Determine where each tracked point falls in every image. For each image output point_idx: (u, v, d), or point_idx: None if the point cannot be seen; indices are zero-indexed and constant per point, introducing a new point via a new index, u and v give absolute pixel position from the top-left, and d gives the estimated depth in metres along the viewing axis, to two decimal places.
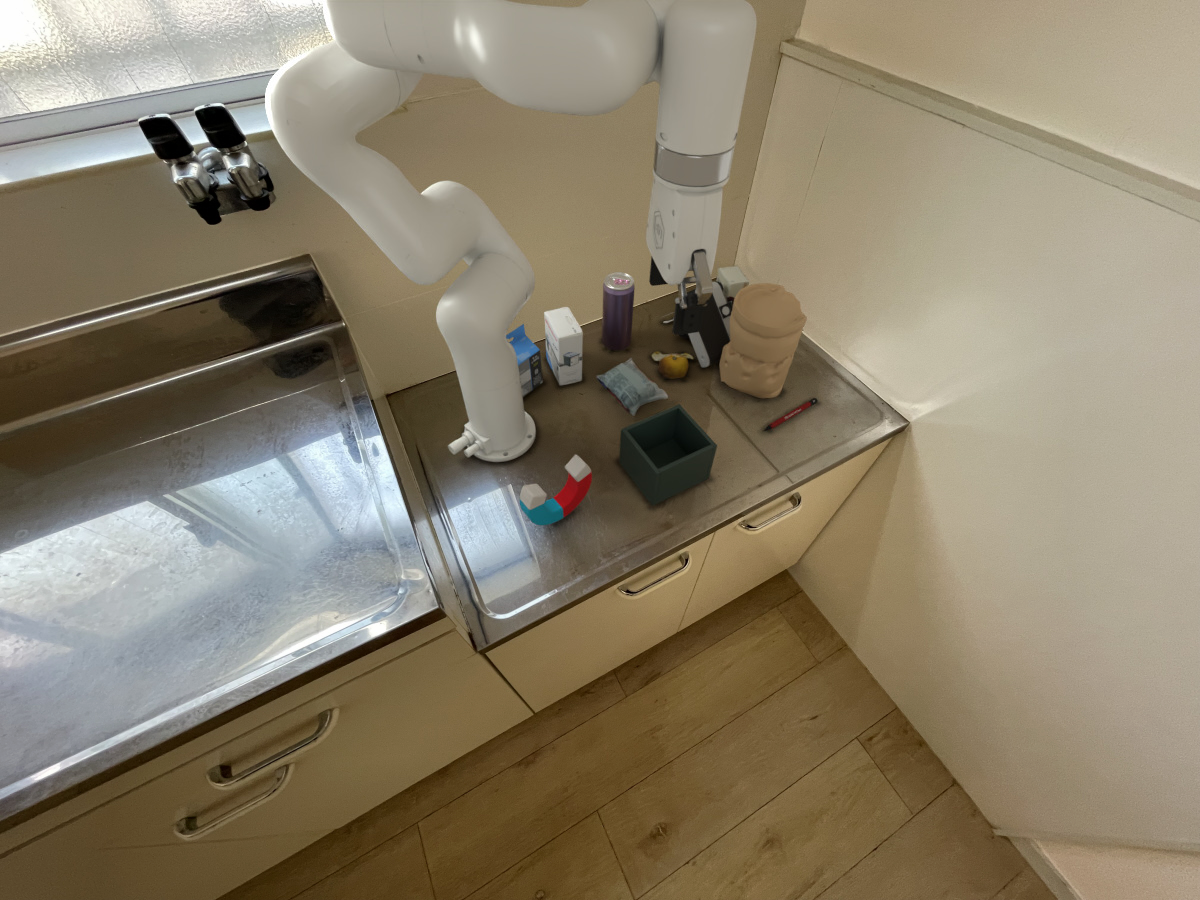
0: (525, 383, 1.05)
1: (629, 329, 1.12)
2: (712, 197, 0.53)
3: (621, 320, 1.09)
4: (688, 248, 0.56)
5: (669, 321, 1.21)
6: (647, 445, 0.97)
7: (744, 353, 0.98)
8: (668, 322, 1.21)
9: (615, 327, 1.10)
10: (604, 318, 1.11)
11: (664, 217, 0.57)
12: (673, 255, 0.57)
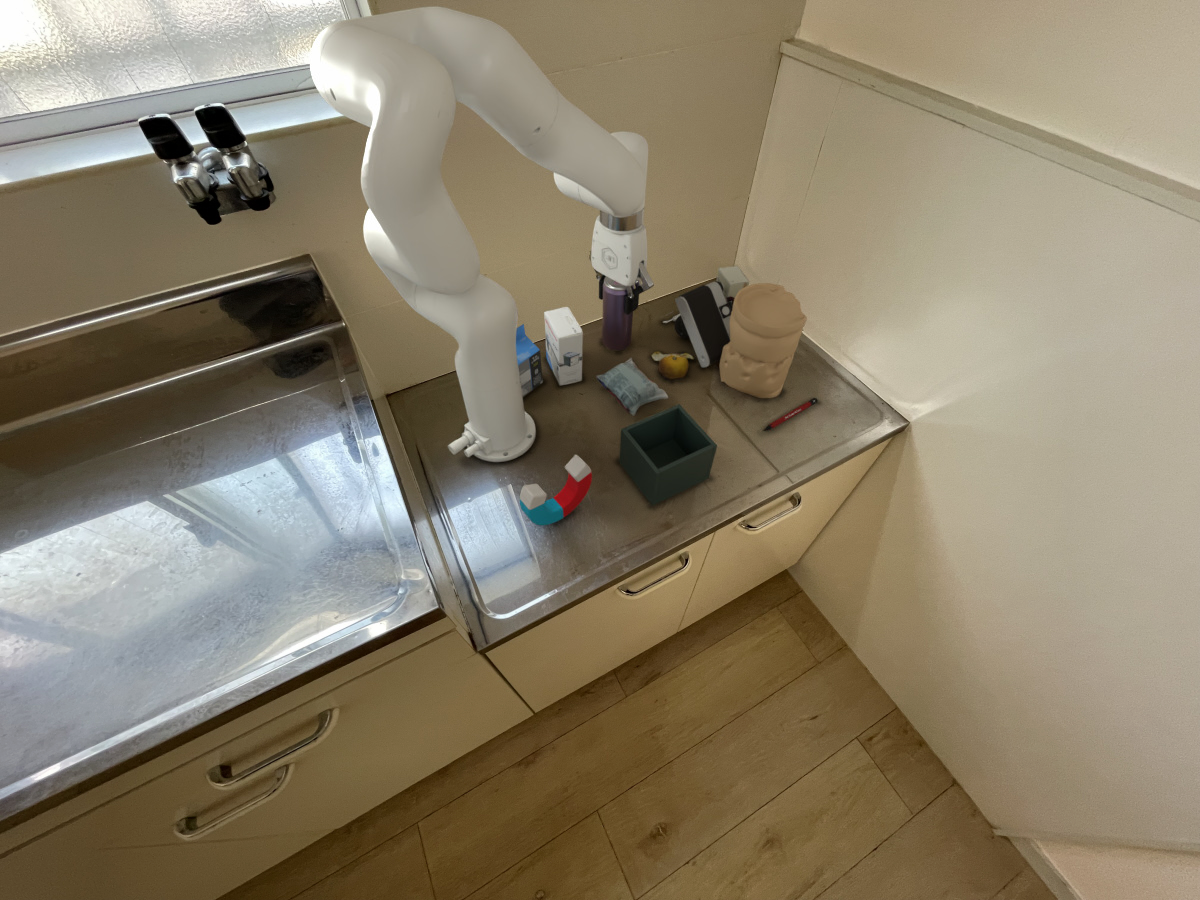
0: (525, 383, 1.05)
1: (629, 329, 1.12)
2: (643, 231, 0.96)
3: (621, 320, 1.09)
4: (637, 262, 0.98)
5: (669, 321, 1.21)
6: (647, 445, 0.97)
7: (744, 353, 0.98)
8: (667, 322, 1.21)
9: (615, 327, 1.10)
10: (604, 318, 1.11)
11: (616, 250, 0.98)
12: (630, 269, 0.98)
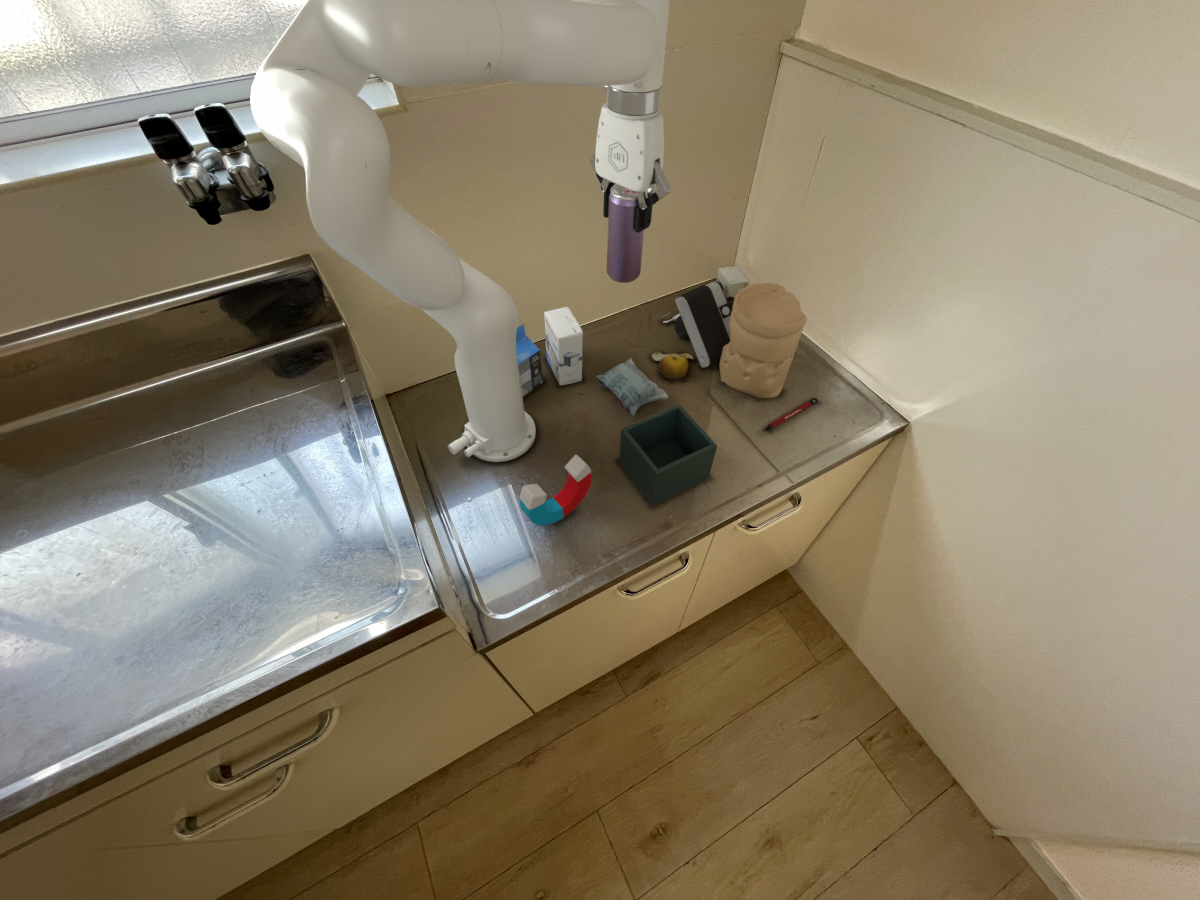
0: (525, 383, 1.05)
1: (638, 254, 0.95)
2: (660, 119, 0.79)
3: (630, 240, 0.92)
4: (652, 159, 0.81)
5: (668, 321, 1.21)
6: (647, 445, 0.97)
7: (744, 353, 0.98)
8: (667, 321, 1.21)
9: (623, 250, 0.93)
10: (610, 240, 0.94)
11: (627, 144, 0.80)
12: (643, 167, 0.81)
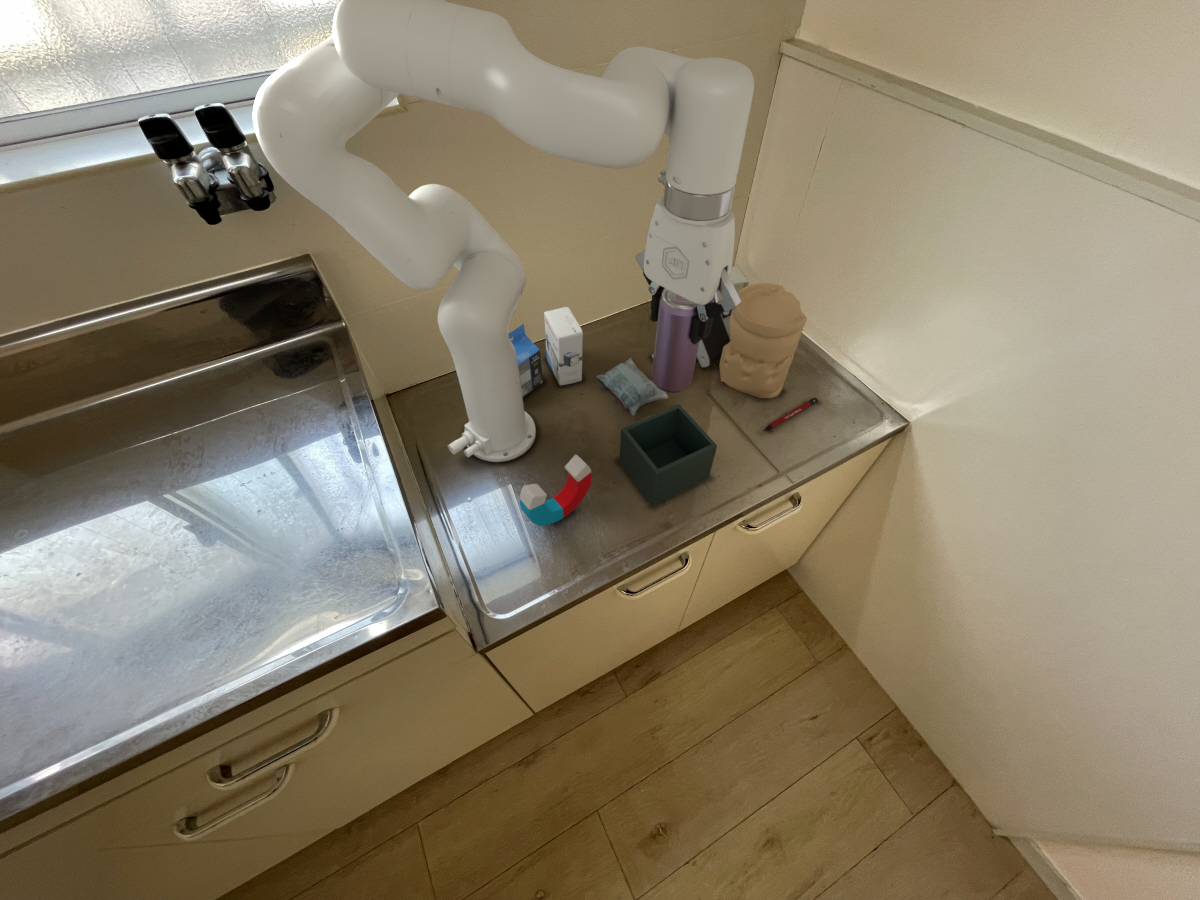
0: (525, 383, 1.05)
1: (692, 363, 0.78)
2: (732, 222, 0.62)
3: (684, 351, 0.75)
4: (719, 269, 0.64)
5: None
6: (647, 445, 0.97)
7: (744, 353, 0.98)
8: None
9: (675, 361, 0.77)
10: (658, 348, 0.77)
11: (688, 250, 0.64)
12: (708, 279, 0.64)
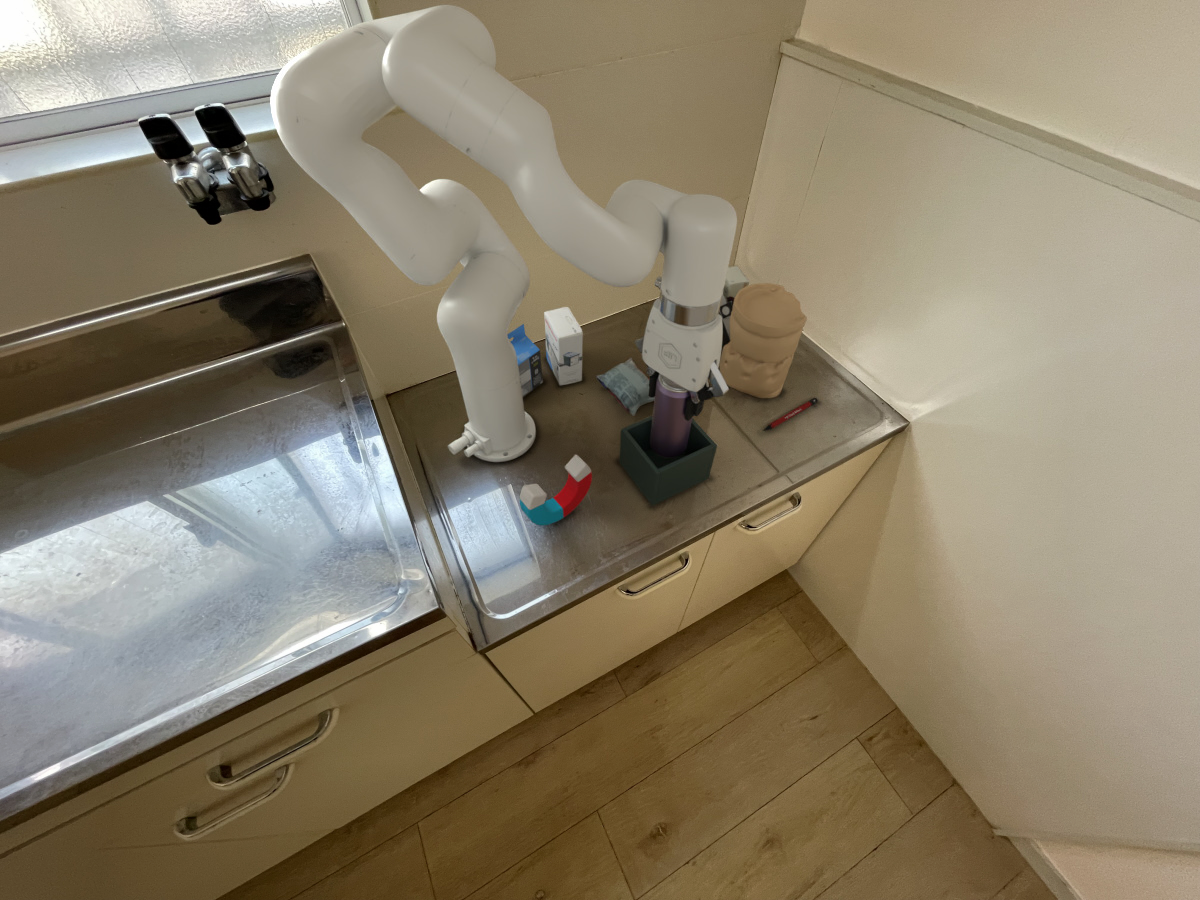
0: (525, 383, 1.05)
1: (687, 433, 0.86)
2: (720, 325, 0.70)
3: (679, 425, 0.83)
4: (709, 364, 0.72)
5: None
6: (647, 445, 0.97)
7: (744, 353, 0.98)
8: None
9: (670, 433, 0.85)
10: (656, 421, 0.85)
11: (681, 348, 0.72)
12: (699, 372, 0.72)
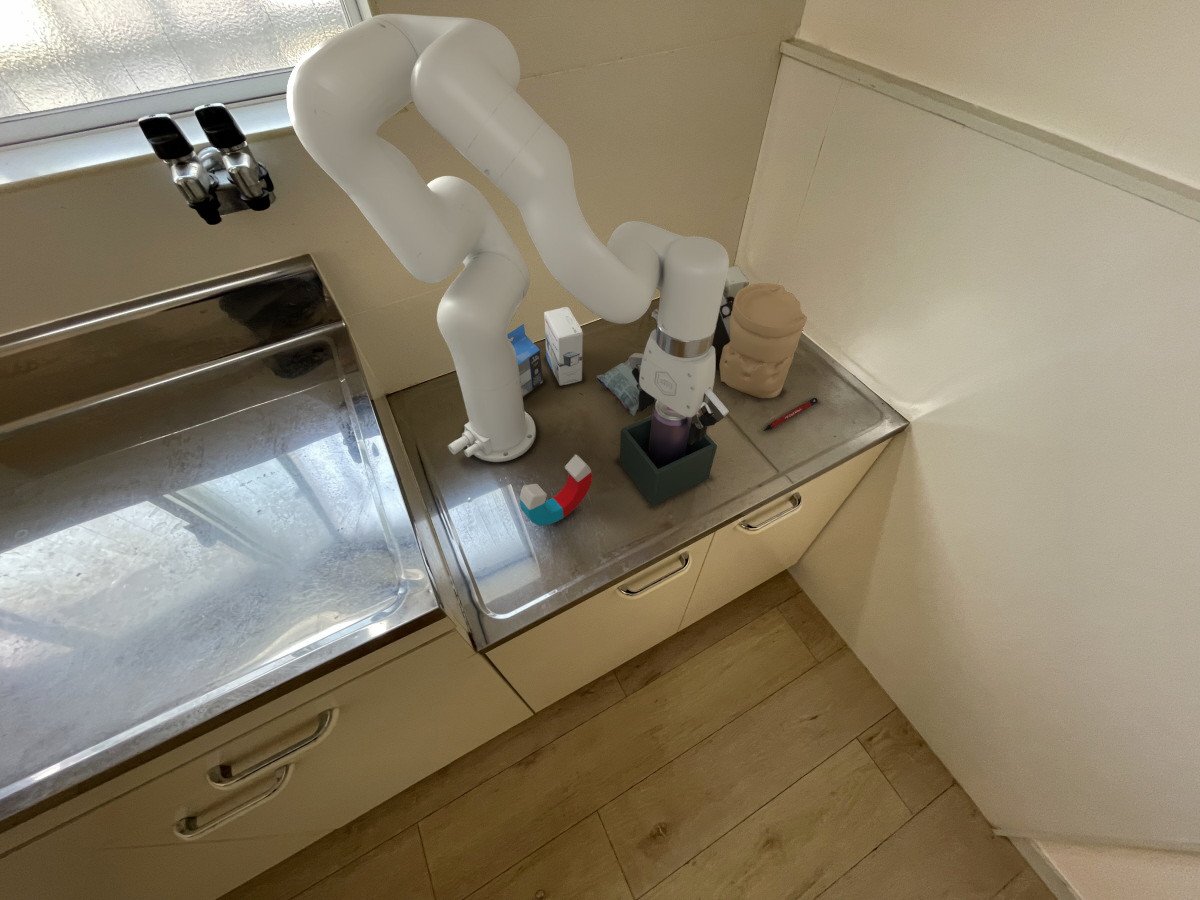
0: (525, 383, 1.05)
1: (682, 457, 0.91)
2: (713, 356, 0.74)
3: (674, 450, 0.88)
4: (702, 392, 0.76)
5: None
6: (647, 445, 0.97)
7: (744, 353, 0.98)
8: None
9: (666, 457, 0.89)
10: (652, 445, 0.89)
11: (676, 377, 0.76)
12: (693, 400, 0.76)
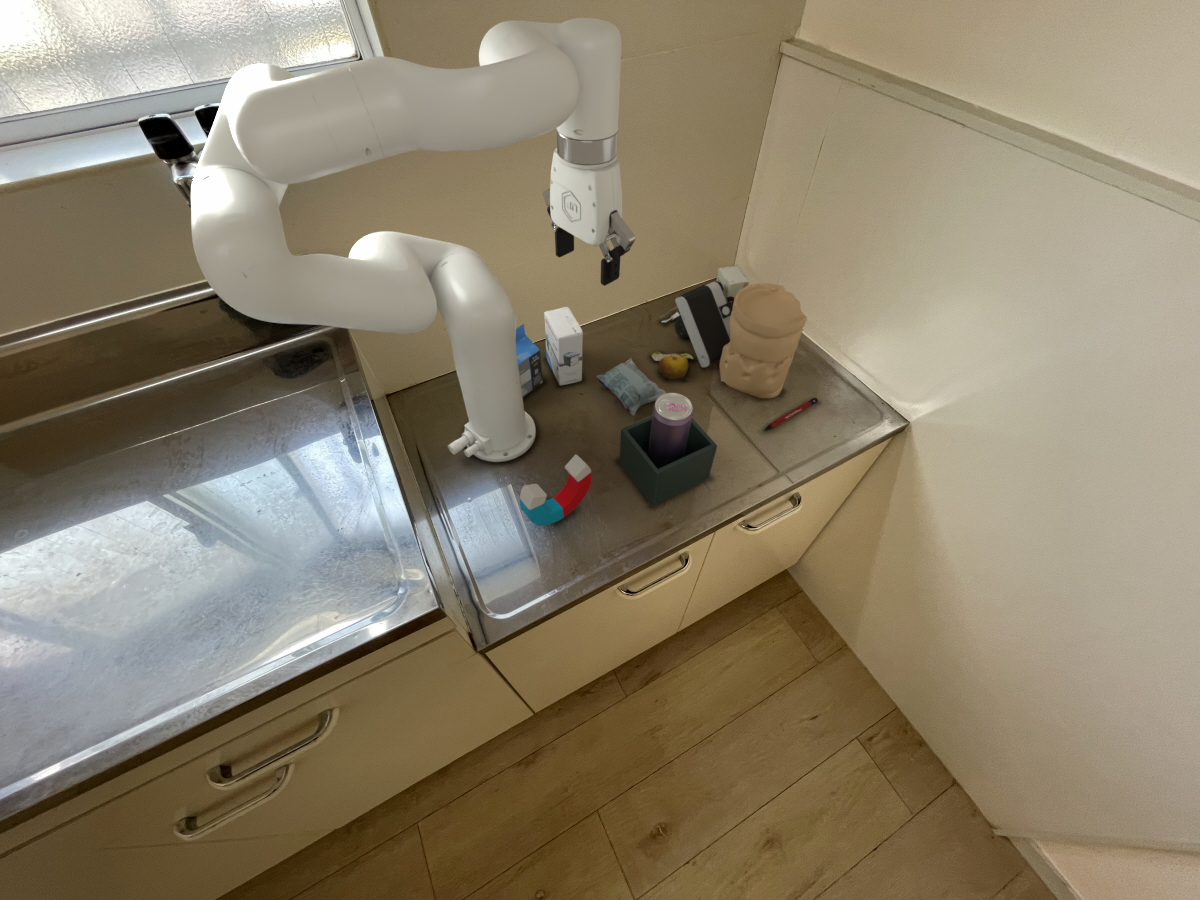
0: (525, 383, 1.05)
1: (682, 457, 0.91)
2: (615, 168, 0.70)
3: (674, 450, 0.88)
4: (606, 212, 0.72)
5: (667, 320, 1.21)
6: (647, 445, 0.97)
7: (744, 353, 0.98)
8: (667, 321, 1.21)
9: (666, 457, 0.89)
10: (652, 445, 0.89)
11: (579, 194, 0.72)
12: (596, 220, 0.72)
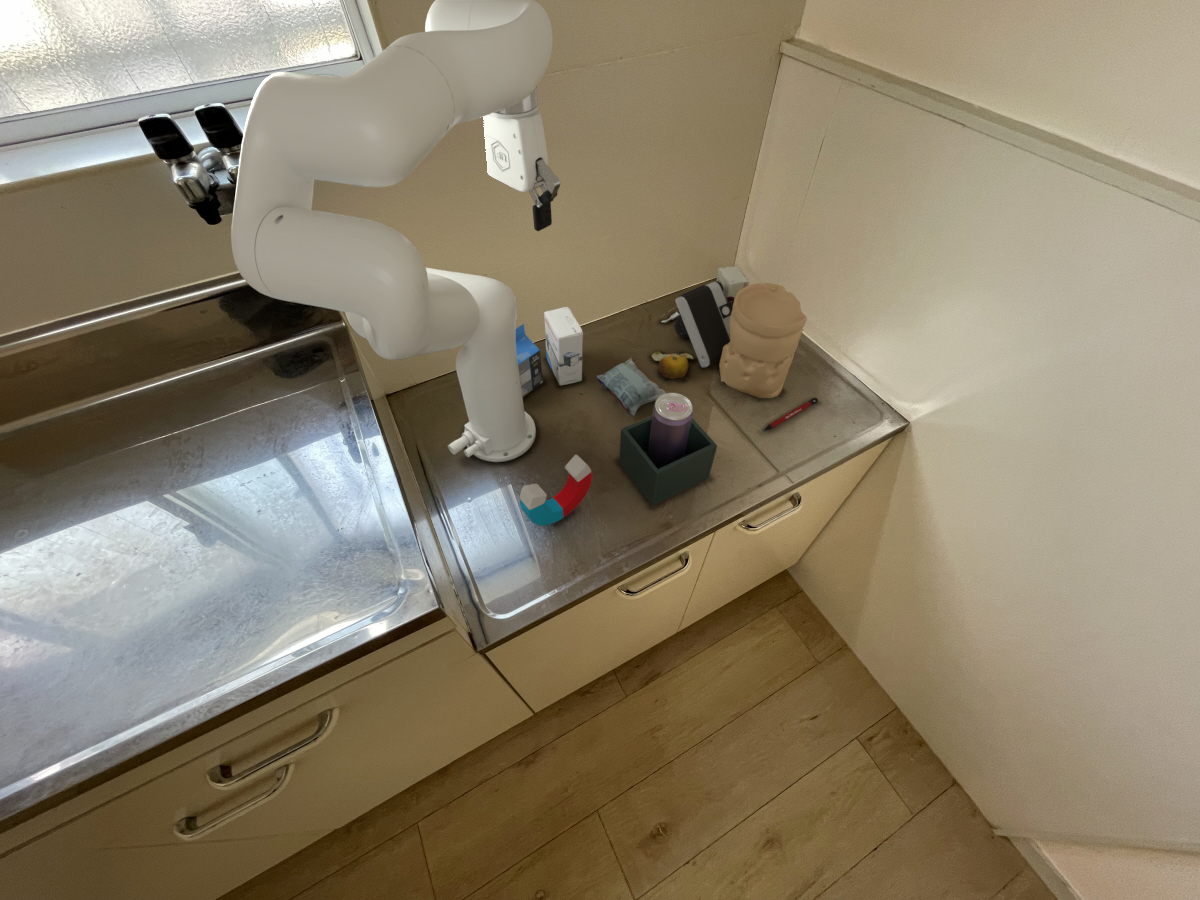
0: (525, 383, 1.05)
1: (682, 457, 0.91)
2: (537, 117, 0.77)
3: (674, 450, 0.88)
4: (532, 159, 0.79)
5: (667, 320, 1.21)
6: (647, 445, 0.97)
7: (744, 353, 0.98)
8: (666, 321, 1.21)
9: (666, 457, 0.89)
10: (652, 445, 0.89)
11: (506, 143, 0.79)
12: (523, 167, 0.80)
